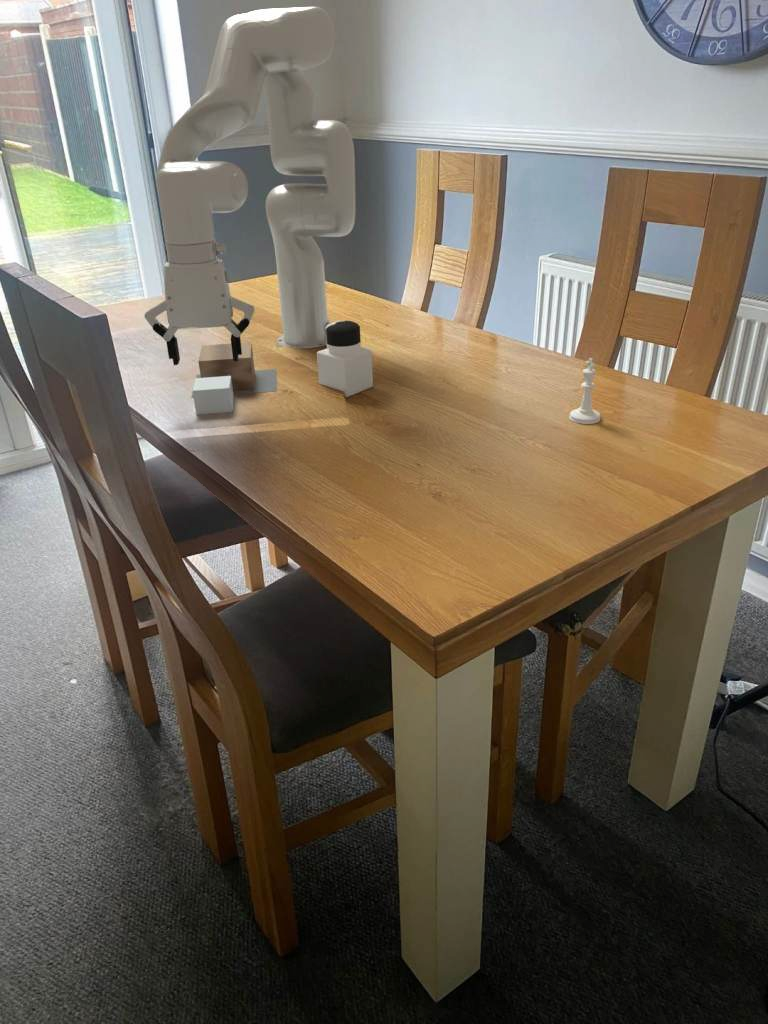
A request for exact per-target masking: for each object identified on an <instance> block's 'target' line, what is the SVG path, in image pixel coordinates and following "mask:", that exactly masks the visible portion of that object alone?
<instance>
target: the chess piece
mask: <svg viewBox="0 0 768 1024" xmlns="http://www.w3.org/2000/svg"><path fill="white" fill-rule="evenodd" d="M593 360H594V359H593V358H591V357H590V358H588V360H586V361H585V365H586V366H587V368H585V369H583V370H582V374H583V379H584V382H582V383H581V385H580V386H581V388H583V389H584V390H583V395H582V401H581V404H580V406H579V407H578V408H576V409H573V410H571V411H570V413H569V416H568V417H569V420H570V421H572V422H573V423H576V424H582V425H592V424H593V425H594V424H596V423H598V422H600V421H601V414H600V412H599V411H598V410H595V409H594V408H593V407H592V394H591V393H592V390H591V389H594V388H595V383H594V382H593V380H594V377H595V376H596V373H597V371H596V370H595V369H594V368H595V366H596V363H594V362H593Z"/></svg>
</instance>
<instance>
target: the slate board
mask: <svg viewBox="0 0 768 1024" xmlns="http://www.w3.org/2000/svg"><path fill="white" fill-rule="evenodd" d="M277 377H278V376H277V368H273V369H271V368H270V369H258V370H255V387H254V390H246V391H233V396H235V395H247V394H259V393H260V394H261V393H273V392H277V391H278V383H277V381H278V379H277ZM195 378H201V375H200V374H196V377H195ZM190 398H191V399H194V397H193V392H192V393H191V397H190Z"/></svg>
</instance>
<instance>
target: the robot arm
mask: <svg viewBox="0 0 768 1024" xmlns="http://www.w3.org/2000/svg"><path fill="white" fill-rule="evenodd" d="M335 41H336V35H335V27H334V24H333V20H332V18H331V17H330V15H329V13H328V12H327V11H326V10H325V9H324V8H322V7H320V6H300V7H299V6H298V7H279V8H278V7H277V8H264V9H257V10H253V11H249V12H247V13H246V12H245V13H241V14H235V15H233V16H231V17H228V18H227V19H226V20H225V22H223V24H222V26H221V27H220V31H219V34H218V38H217V43H216V45H215V50H214V54H213V59H212V62H211V65H210V70H209V73H208V74H209V75H208V78H207V82H206V86H205V90H204V93H203V95H202V96H201V97H200V98H199V99H198V100H197V101H195V103H194V104H192V105H191V106H190V107H189V108H188V109H187V110H186V111H185V112H184V113H183V114H182V116H181V117H180V118H179V119H178V120H177V121H176V122H175V123H174V124H173V126H172V127H171V129H170V130H169V131H168V133H167V135H166V137H165V140H164V142H163V145H162V149H161V153H160V156H159V161H158V165H157V169H156V177H155V178H156V182H155V183H156V185H155V187H156V191H157V195H158V196H157V197H158V202H159V203H158V204H159V208H160V214H161V216H160V217H161V221H162V229H163V235H164V242H165V248H166V254H167V262H165V263H164V269H163V270H164V271H163V272H164V273H163V278H164V279H163V281H164V282H163V285H164V297H165V300H163V301H162V302H160V303H159V304H157V305H154V307H151V308H150V309H149V310H147V311H146V312H145V313H144V319H145V320H146V321H147V323H148V325H150V327H151V328H152V331H154V332H155V333H156V334H157V335H159V336H160V337H161V338H162V339H163V340H164V341H165V342H166V348H167V349H166V350H167V355H168V360H172V363H173V366H178V365H179V364H180V359H181V357H180V352H179V350H180V349H179V343H178V337H176V335H175V334H176V332H177V331H178V330H188V329H189V330H190V329H205V328H206V329H207V328H219V327H220V328H221V327H222V328H223V327H224V328H225V329H227V330H228V332H230V333H231V334H230V344H231V346H232V354H233V361H235V362H236V361H238V355H242V349H241V343H242V341H241V335H242V334H243V333H244V332H245V330H246V329H247V328H248V327H249V325H250V323H251V320H252V318H253V316H254V313H255V307H254V305H251V304H250V303H247V302H244V301H242V300H240V299H238V298H235V297H233V296H232V295H231V290H230V284H229V279H228V275H227V270H226V268H225V267H226V266H225V263H224V261H223V259H220V258H218V257H219V256H220V255H222V254H227V250H226V243H222V244H221V243H218V241H217V240H216V236H215V228H214V219H213V214H214V213H215V214H226V213H227V214H228V213H232V212H235V211H237V210H239V209H240V208H241V207H242V206H243V205H244V204H245V202H246V200H247V197H248V195H249V194H248V193H249V184H248V182H249V181H248V179H247V177H246V174H245V172H244V171H243V170H242V169H241V168H240V167H239V166H238V165H236V164H235V163H233V162H229V161H222V160H197V159H198V157H199V156H200V155H201V154H202V152H204V151H205V150H206V149H207V148H209V147H210V146H212V145H213V144H215V143H217V142H219V141H220V140H223V139H224V138H227V137H229V136H231V135H233V134H235V133H237V132H240V131H241V130H243V129H244V128H246V127H247V126H249V125H250V124H251V123H252V122H253V121H254V120H255V119H256V115H257V112H258V107H259V103H260V98H261V95H262V90H263V88H264V92H265V95H266V102H267V103H266V104H267V116H268V118H267V119H268V133H269V148H270V149H269V150H270V156H271V164H272V165H273V168H274V169H275V170H276V172H278V173H279V174H282V175H285V176H295V177H296V176H297V177H324V178H325V182H326V183H302V182H301V183H284V184H280V185H277V186H275V187H274V188H272V189H271V190H270V191H269V193H268V195H267V196H266V199H265V213H266V219H267V222H268V225H269V231H270V232H271V237H272V241H273V246H274V252H275V253H274V255H275V262H276V275H277V285H278V294H279V304H280V313H281V326H282V333H283V334H282V335H280V336H279V337H278V338H277V339H276V346H277V347H279V348H281V347H286V348H291V349H310V348H311V349H312V348H318V347H323V346H327V342H326V327H327V325H329V324H330V323H331V322H330V318H329V317H328V305H327V291H326V277H325V275H326V274H325V261H324V260H325V259H324V256H323V253H322V251H321V249H320V247H319V246H318V243H317V242H316V241H315V240H314V237H328V238H337V237H338V238H341V237H345V236H347V235H349V234H350V233H351V232H352V230H353V228H354V227H355V222H356V221H355V220H356V212H357V211H356V166H355V164H356V163H355V162H356V161H355V159H356V158H355V145H354V141H353V136H352V133H351V131H350V129H349V127H348V126H347V125H346V124H345V123H343V122H342V121H339V120H335V119H334V120H333V119H319V120H318V119H317V120H316V118H315V110H314V109H315V108H314V95H313V89H312V86H311V84H310V82H309V79H308V77H306V75H305V74H304V72H303V71H307V70H309V69H312V68H315V67H318V66H321V65H323V64H325V63H326V62H327V61H328V60H329V59H330V58H331V55H332V53H333V51H334V48H335ZM233 309H237V310H238V311H240V312H243V313H244V315H243V318H241V320H239V322H238V323H237V322H236V321H235V320H234V319H233V316H234V315H233V314H234V311H233ZM164 312H166V316H167V317H166V318H167V322H168V324H169V325H168V327H167V326H165V325H163V324H162V323H161V322H159V319H158V318H157V316H159V315H161V314H163V313H164Z"/></svg>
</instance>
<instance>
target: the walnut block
mask: <svg viewBox="0 0 768 1024" xmlns="http://www.w3.org/2000/svg"><path fill="white" fill-rule="evenodd" d="M252 345H253V344H252V341H250V342H249V341H248V342H241V349H242V355H238V361H236V362H235V361H233V354H232V346H231V343H220V344H218V343H217V344H207V345H206V344H205V345H201V349H200V353H199V357H198V367H199V368H198V369H199V375H201V378H207V377H221V376H231V381H232V388H233V391H246V390H254V387H255V361H254V352H253V346H252Z"/></svg>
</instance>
